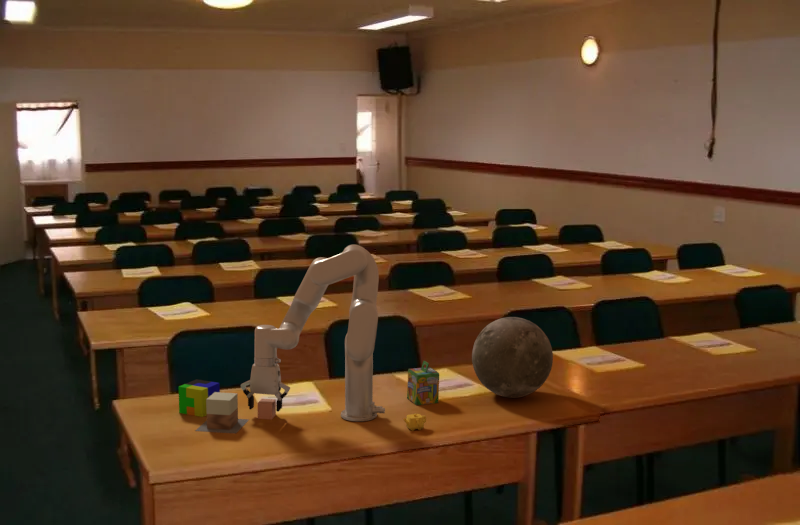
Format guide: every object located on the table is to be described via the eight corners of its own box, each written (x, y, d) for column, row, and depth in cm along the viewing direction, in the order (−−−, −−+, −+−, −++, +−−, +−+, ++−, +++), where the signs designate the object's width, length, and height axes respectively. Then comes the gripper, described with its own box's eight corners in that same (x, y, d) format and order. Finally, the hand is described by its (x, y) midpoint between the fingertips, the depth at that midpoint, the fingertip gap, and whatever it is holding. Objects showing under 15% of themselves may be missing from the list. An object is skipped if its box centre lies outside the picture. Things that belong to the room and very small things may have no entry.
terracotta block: (275, 415, 307) (275, 399, 306) (271, 420, 302) (271, 403, 302) (262, 415, 308) (261, 398, 307) (257, 419, 303) (257, 403, 302)
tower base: (238, 421, 299) (237, 407, 299) (230, 429, 292) (229, 415, 291) (215, 420, 301) (215, 406, 300) (207, 428, 293) (206, 413, 292)
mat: (249, 420, 302) (249, 419, 302) (236, 434, 288) (235, 433, 288) (210, 418, 304) (210, 417, 304) (195, 432, 290) (195, 430, 290)
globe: (568, 399, 329) (571, 320, 324) (507, 413, 312) (509, 330, 307) (514, 380, 353) (516, 306, 349) (455, 392, 337) (456, 315, 332)
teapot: (406, 433, 291) (406, 418, 290) (400, 427, 296) (401, 412, 296) (429, 431, 293) (429, 416, 293) (423, 425, 299) (423, 410, 298)
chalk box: (406, 398, 328) (407, 360, 326) (429, 396, 331) (429, 357, 329) (416, 406, 320) (416, 366, 317) (439, 403, 323) (440, 364, 321)
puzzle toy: (220, 410, 313) (219, 382, 312) (202, 418, 304) (201, 390, 303) (197, 406, 317) (196, 379, 316) (179, 414, 308) (178, 386, 307)
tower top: (237, 407, 299) (237, 393, 298) (229, 415, 291) (229, 400, 290) (215, 406, 300) (214, 392, 299) (206, 413, 292) (206, 399, 291)
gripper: (292, 360, 305) (292, 408, 307) (244, 356, 307) (244, 404, 310) (287, 365, 297) (286, 414, 300) (237, 362, 300) (237, 410, 302)
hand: (265, 409), depth 305 cm, fingers open, 9 cm apart
